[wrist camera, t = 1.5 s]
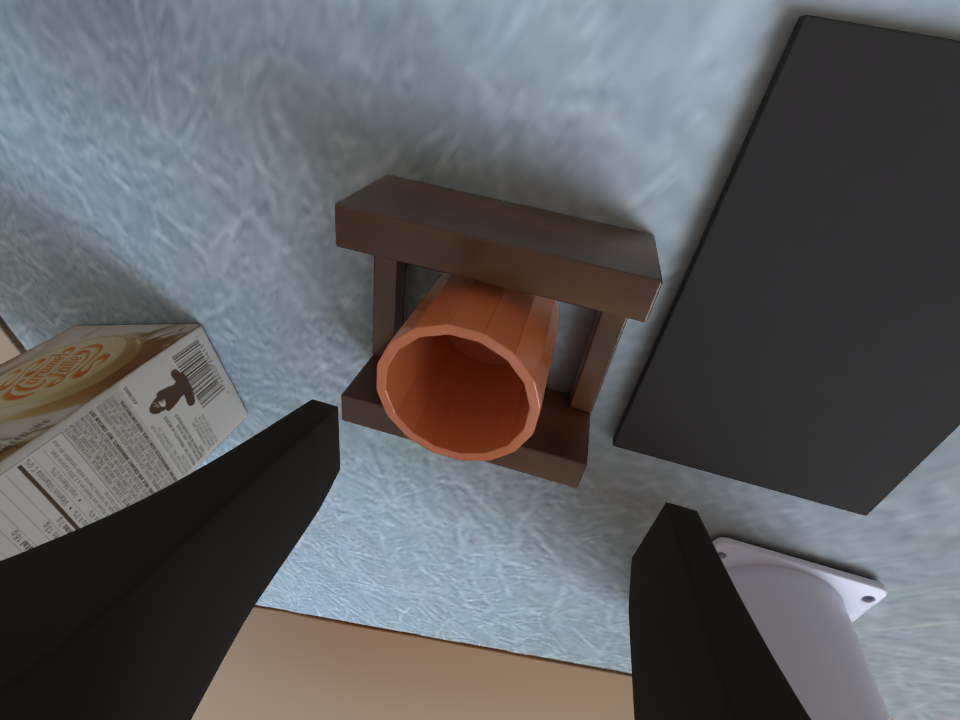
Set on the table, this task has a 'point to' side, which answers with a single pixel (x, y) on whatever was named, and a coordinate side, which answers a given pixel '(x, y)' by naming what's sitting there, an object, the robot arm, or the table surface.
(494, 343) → the cup
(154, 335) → the coffee box
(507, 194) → the table surface
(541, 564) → the table surface
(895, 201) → the mat
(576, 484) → the stand
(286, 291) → the table surface
